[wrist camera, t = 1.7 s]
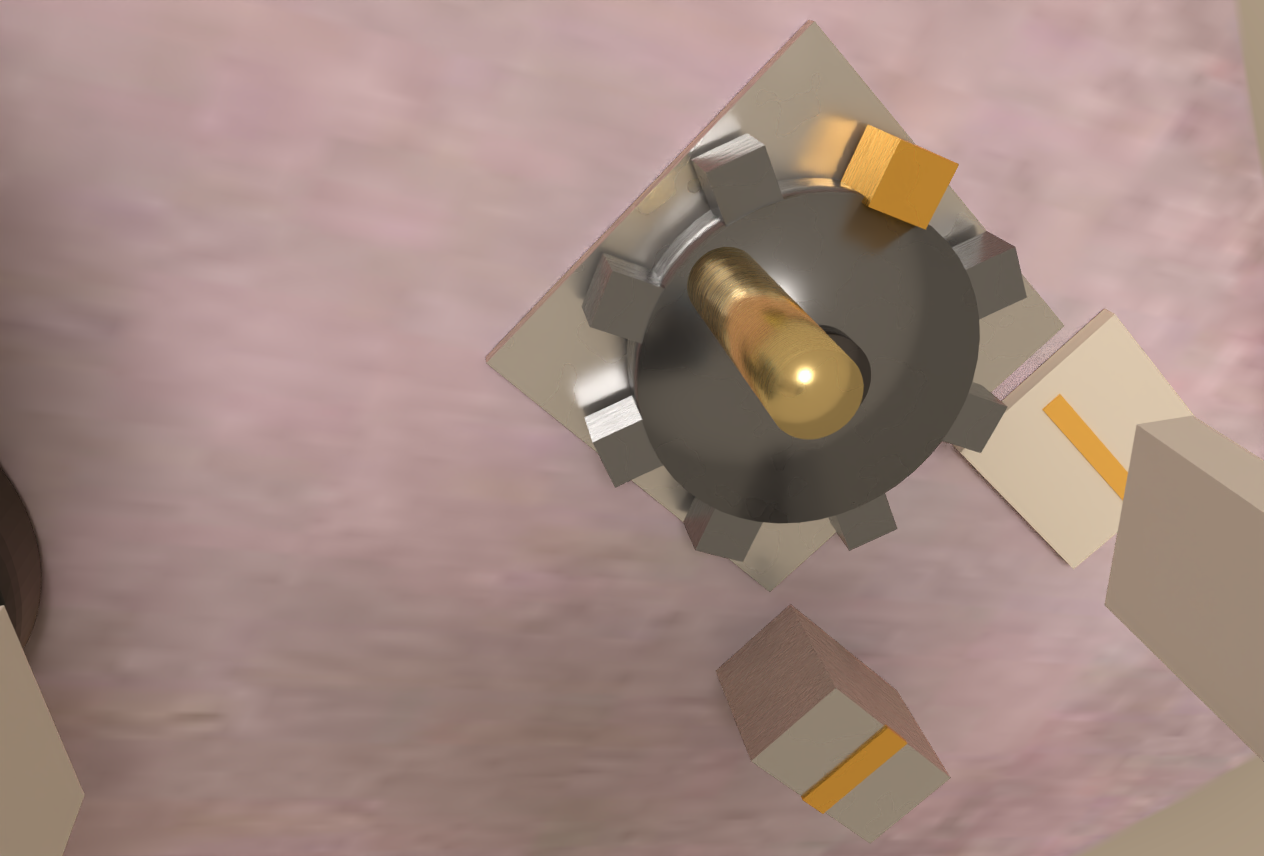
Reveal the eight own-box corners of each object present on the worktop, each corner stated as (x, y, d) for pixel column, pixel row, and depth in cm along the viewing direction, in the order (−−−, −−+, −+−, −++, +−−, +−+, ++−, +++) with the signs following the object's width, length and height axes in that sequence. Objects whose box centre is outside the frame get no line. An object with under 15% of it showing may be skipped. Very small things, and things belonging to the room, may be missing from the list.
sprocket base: (765, 584, 39) (769, 592, 38) (485, 356, 33) (486, 363, 32) (1056, 320, 36) (1064, 325, 35) (808, 19, 30) (814, 21, 29)
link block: (823, 750, 43) (870, 846, 39) (714, 669, 40) (750, 764, 36) (896, 688, 42) (953, 778, 38) (790, 601, 39) (837, 689, 35)
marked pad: (1065, 560, 41) (1075, 570, 40) (952, 445, 37) (961, 453, 37) (1207, 440, 39) (1220, 448, 39) (1105, 308, 36) (1116, 315, 35)
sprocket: (772, 594, 38) (878, 798, 29) (490, 366, 32) (516, 536, 23) (1068, 327, 35) (1285, 463, 26) (820, 23, 29) (992, 68, 20)
